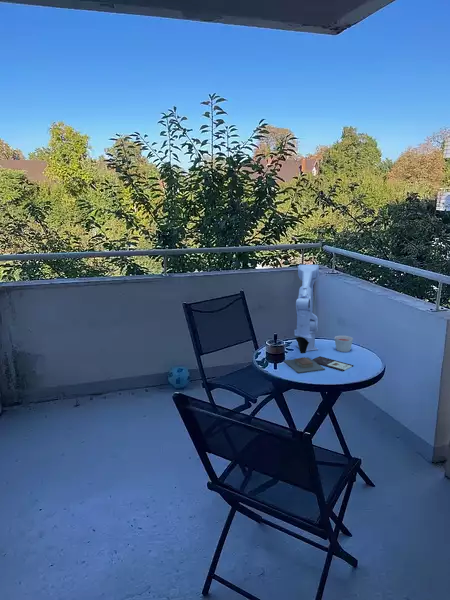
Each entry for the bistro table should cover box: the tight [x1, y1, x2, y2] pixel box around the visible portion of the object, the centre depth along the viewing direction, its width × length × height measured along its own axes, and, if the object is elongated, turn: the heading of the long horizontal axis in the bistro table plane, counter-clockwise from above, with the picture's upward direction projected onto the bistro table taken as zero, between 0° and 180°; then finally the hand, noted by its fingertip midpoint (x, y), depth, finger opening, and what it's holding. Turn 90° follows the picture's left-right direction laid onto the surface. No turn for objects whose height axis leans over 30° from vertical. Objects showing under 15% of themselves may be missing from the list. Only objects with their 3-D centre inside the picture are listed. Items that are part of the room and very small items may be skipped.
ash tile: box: [294, 357, 313, 368], centre depth 191 cm, size 2×5×8 cm
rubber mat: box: [283, 357, 326, 374], centre depth 192 cm, size 16×13×1 cm
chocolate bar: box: [311, 355, 355, 372], centre depth 193 cm, size 9×1×18 cm
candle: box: [334, 335, 354, 353], centre depth 212 cm, size 9×9×6 cm
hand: (302, 352), depth 191 cm, fingers closed
